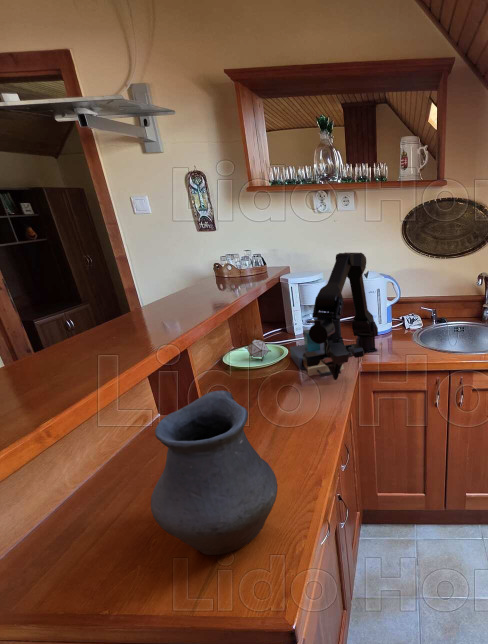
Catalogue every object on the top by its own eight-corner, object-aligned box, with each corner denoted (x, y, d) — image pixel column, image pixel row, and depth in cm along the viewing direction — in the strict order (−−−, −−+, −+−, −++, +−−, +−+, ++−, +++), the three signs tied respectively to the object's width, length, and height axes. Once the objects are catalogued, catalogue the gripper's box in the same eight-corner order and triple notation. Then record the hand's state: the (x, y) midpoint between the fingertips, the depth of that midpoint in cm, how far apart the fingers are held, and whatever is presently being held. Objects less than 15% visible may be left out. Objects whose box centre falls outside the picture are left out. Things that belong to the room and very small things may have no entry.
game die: (266, 367, 162) (279, 347, 159) (250, 367, 154) (264, 345, 151) (251, 352, 164) (264, 332, 162) (236, 352, 157) (249, 330, 154)
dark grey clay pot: (143, 583, 67) (96, 451, 57) (193, 495, 87) (164, 385, 77) (273, 575, 68) (249, 443, 58) (292, 489, 88) (277, 380, 77)
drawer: (348, 374, 142) (348, 367, 141) (313, 381, 137) (312, 373, 136) (332, 358, 156) (331, 351, 155) (299, 364, 151) (298, 357, 150)
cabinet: (336, 363, 154) (335, 351, 152) (300, 369, 149) (299, 358, 147) (325, 351, 165) (324, 341, 164) (291, 357, 160) (289, 346, 158)
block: (316, 346, 158) (315, 328, 155) (320, 350, 154) (318, 331, 151) (305, 348, 156) (303, 330, 153) (308, 352, 153) (306, 333, 150)
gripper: (309, 345, 119) (314, 395, 125) (370, 335, 126) (371, 382, 132) (299, 335, 128) (304, 381, 135) (356, 326, 135) (358, 370, 142)
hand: (335, 379), depth 136 cm, fingers closed
